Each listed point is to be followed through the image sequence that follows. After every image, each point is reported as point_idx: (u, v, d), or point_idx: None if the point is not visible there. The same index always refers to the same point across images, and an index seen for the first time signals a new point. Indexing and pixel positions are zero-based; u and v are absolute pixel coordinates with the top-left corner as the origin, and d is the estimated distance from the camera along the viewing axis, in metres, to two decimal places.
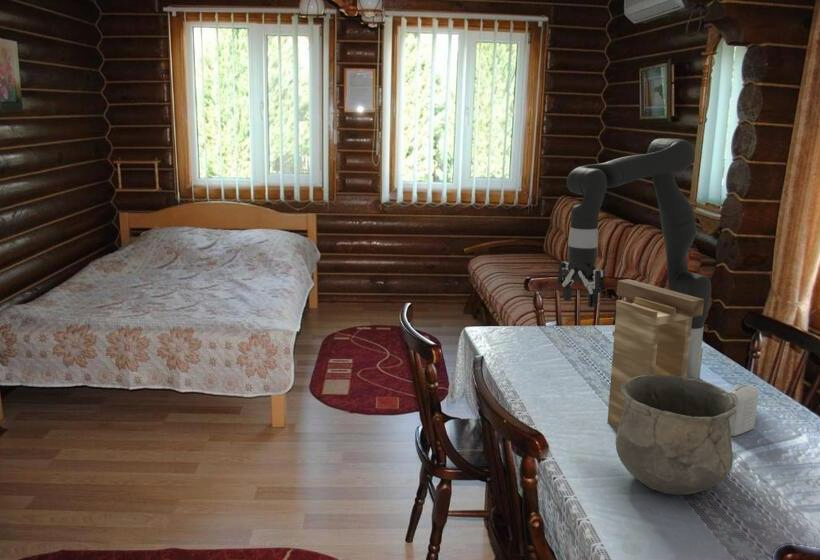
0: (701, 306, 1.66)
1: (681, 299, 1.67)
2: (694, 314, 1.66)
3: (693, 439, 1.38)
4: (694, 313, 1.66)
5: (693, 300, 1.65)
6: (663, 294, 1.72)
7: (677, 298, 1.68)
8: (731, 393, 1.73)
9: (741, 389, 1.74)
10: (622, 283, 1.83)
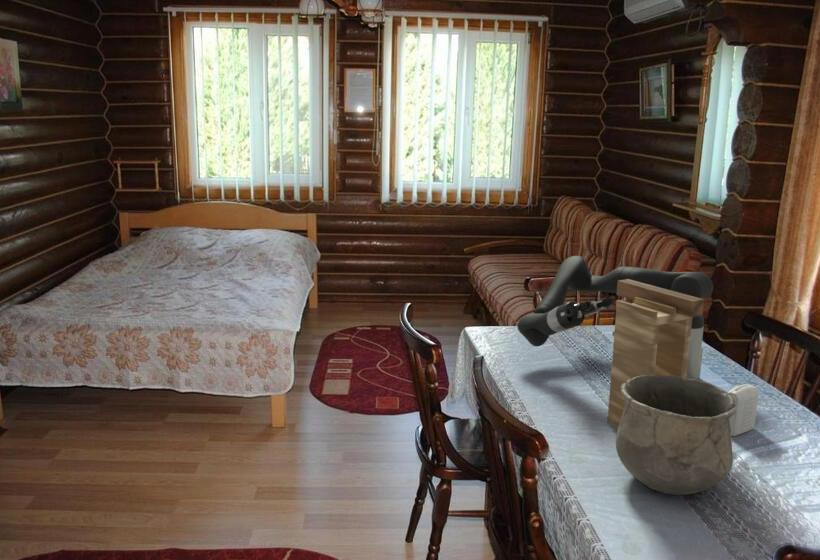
0: (701, 306, 1.66)
1: (681, 299, 1.67)
2: (694, 314, 1.66)
3: (693, 439, 1.38)
4: (694, 313, 1.66)
5: (693, 300, 1.65)
6: (663, 294, 1.72)
7: (677, 298, 1.68)
8: (731, 393, 1.73)
9: (741, 389, 1.74)
10: (622, 283, 1.83)
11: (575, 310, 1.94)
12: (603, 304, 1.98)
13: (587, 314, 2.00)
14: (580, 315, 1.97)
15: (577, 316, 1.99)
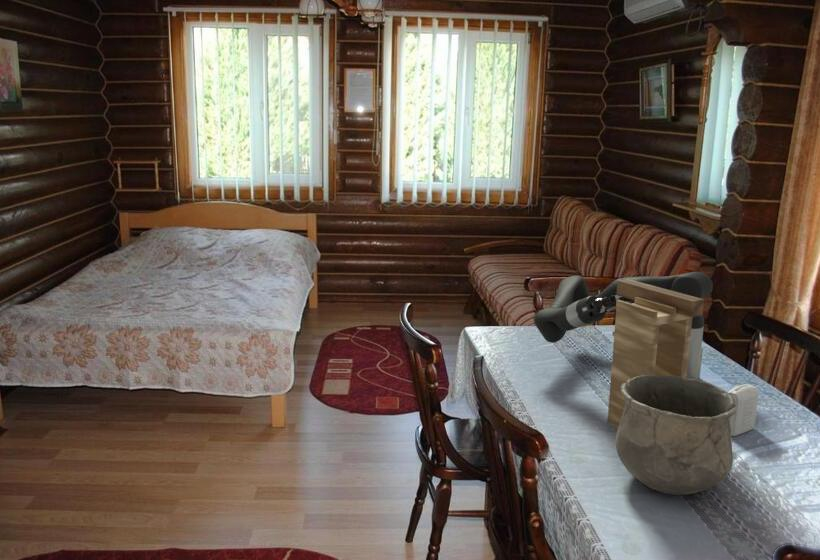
0: (701, 306, 1.66)
1: (681, 299, 1.67)
2: (694, 314, 1.66)
3: (693, 439, 1.38)
4: (694, 313, 1.66)
5: (693, 300, 1.65)
6: (663, 294, 1.72)
7: (677, 298, 1.68)
8: (731, 393, 1.73)
9: (741, 389, 1.74)
10: (622, 283, 1.83)
11: (598, 305, 1.85)
12: (626, 298, 1.90)
13: (609, 309, 1.92)
14: (603, 310, 1.89)
15: (599, 311, 1.90)
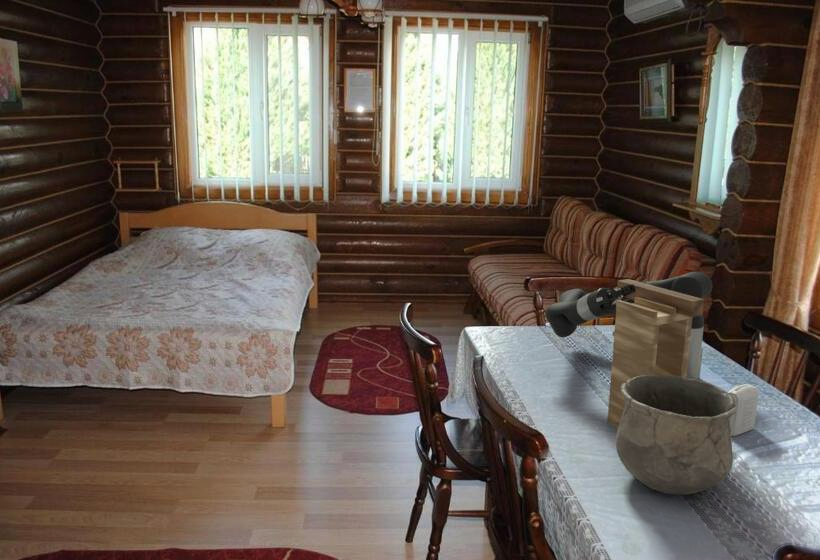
0: (701, 306, 1.66)
1: (681, 299, 1.67)
2: (694, 314, 1.66)
3: (693, 439, 1.38)
4: (694, 313, 1.66)
5: (693, 300, 1.65)
6: (663, 294, 1.72)
7: (677, 298, 1.68)
8: (731, 393, 1.73)
9: (741, 389, 1.74)
10: (622, 283, 1.83)
11: (617, 294, 1.82)
12: None
13: None
14: None
15: (612, 302, 1.87)
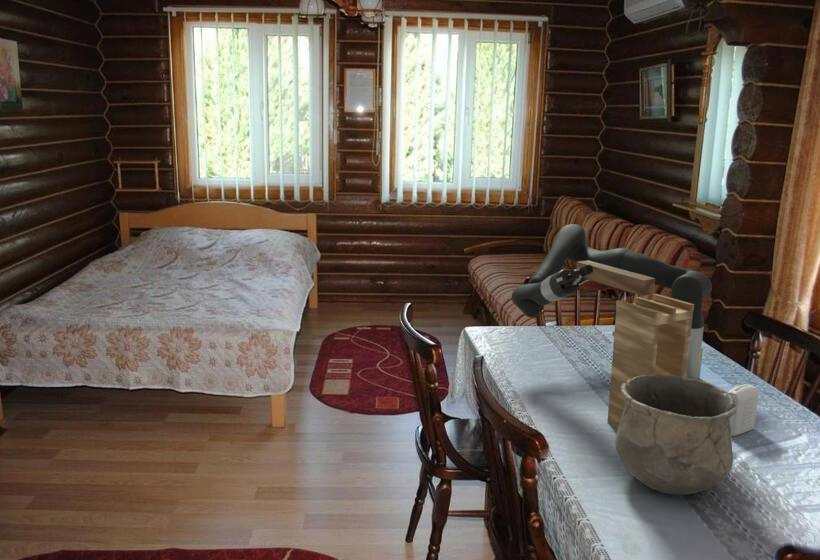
0: (652, 285, 1.72)
1: (633, 278, 1.73)
2: (645, 293, 1.71)
3: (693, 439, 1.38)
4: (645, 291, 1.71)
5: (644, 279, 1.71)
6: (617, 274, 1.78)
7: (630, 277, 1.74)
8: (731, 393, 1.73)
9: (741, 389, 1.74)
10: (581, 264, 1.89)
11: (575, 274, 1.88)
12: None
13: (580, 282, 1.94)
14: (577, 281, 1.91)
15: (572, 283, 1.93)
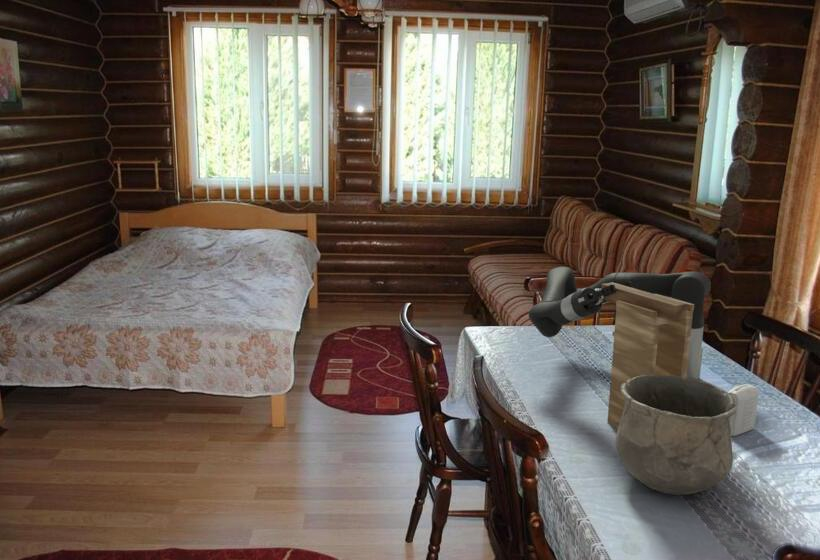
0: (684, 310, 1.62)
1: (664, 303, 1.63)
2: (677, 319, 1.62)
3: (693, 439, 1.38)
4: (677, 317, 1.62)
5: (676, 304, 1.61)
6: (646, 298, 1.68)
7: (660, 302, 1.64)
8: (731, 393, 1.73)
9: (741, 389, 1.74)
10: (606, 286, 1.79)
11: (597, 295, 1.78)
12: None
13: (604, 301, 1.85)
14: (600, 301, 1.81)
15: (595, 303, 1.83)
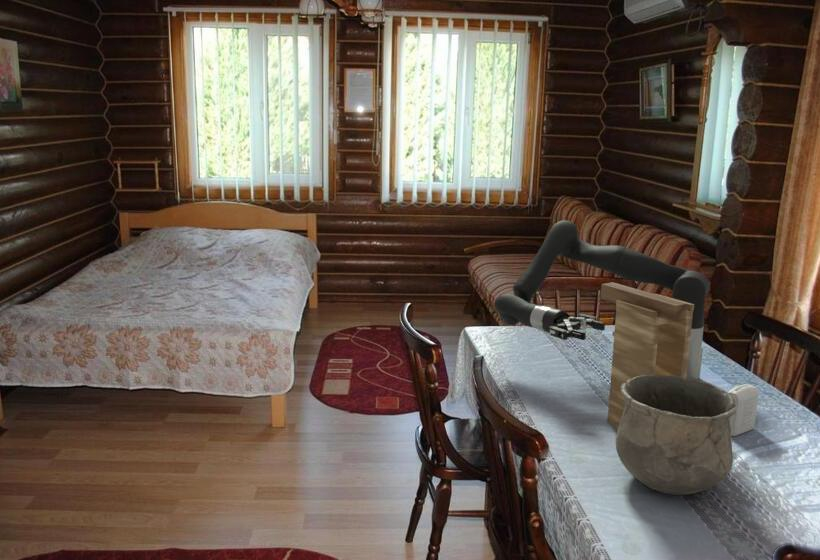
0: (684, 310, 1.62)
1: (664, 303, 1.63)
2: (677, 319, 1.62)
3: (693, 439, 1.38)
4: (677, 317, 1.62)
5: (676, 304, 1.61)
6: (646, 298, 1.68)
7: (660, 302, 1.64)
8: (731, 393, 1.73)
9: (741, 389, 1.74)
10: (606, 286, 1.79)
11: (567, 336, 1.91)
12: (593, 325, 1.96)
13: None
14: None
15: None
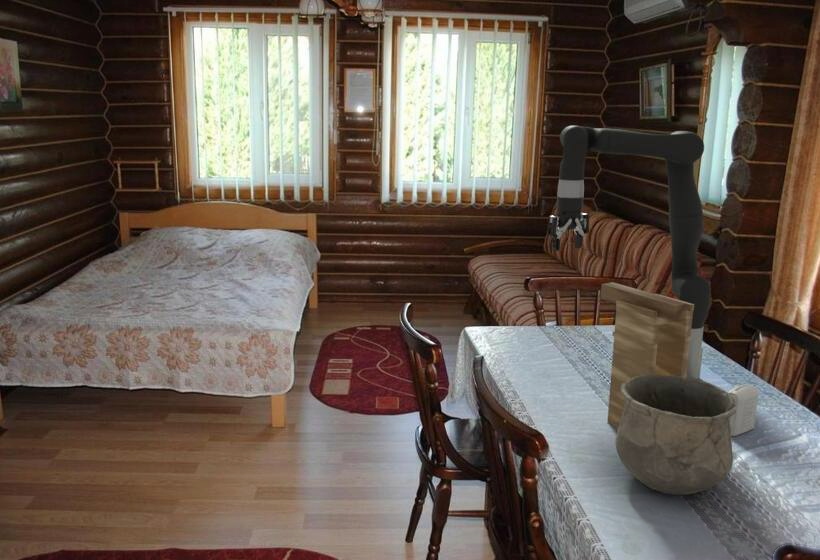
0: (684, 310, 1.62)
1: (664, 303, 1.63)
2: (677, 319, 1.62)
3: (693, 439, 1.38)
4: (677, 317, 1.62)
5: (676, 304, 1.61)
6: (646, 298, 1.68)
7: (660, 302, 1.64)
8: (731, 393, 1.73)
9: (741, 389, 1.74)
10: (606, 286, 1.79)
11: (551, 236, 2.02)
12: (577, 236, 2.07)
13: None
14: (557, 227, 2.04)
15: None
